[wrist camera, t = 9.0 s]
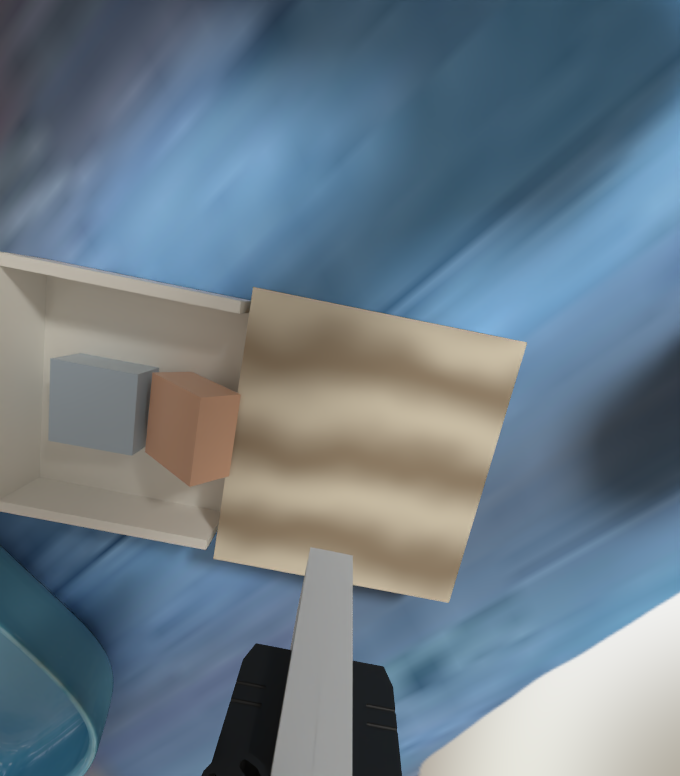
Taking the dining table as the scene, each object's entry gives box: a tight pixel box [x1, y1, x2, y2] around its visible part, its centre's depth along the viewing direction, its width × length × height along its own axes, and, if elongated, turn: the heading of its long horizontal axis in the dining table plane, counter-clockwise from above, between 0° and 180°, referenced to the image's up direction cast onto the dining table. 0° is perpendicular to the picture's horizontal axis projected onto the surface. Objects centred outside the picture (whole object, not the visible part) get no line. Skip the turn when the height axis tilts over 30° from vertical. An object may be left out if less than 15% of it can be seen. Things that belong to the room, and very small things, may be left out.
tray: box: [0, 252, 251, 550], centre depth 28 cm, size 18×16×4 cm
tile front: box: [145, 372, 241, 487], centre depth 27 cm, size 6×6×3 cm
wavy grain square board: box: [213, 287, 527, 603], centre depth 29 cm, size 20×18×4 cm
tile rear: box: [48, 353, 159, 456], centre depth 28 cm, size 6×6×3 cm
